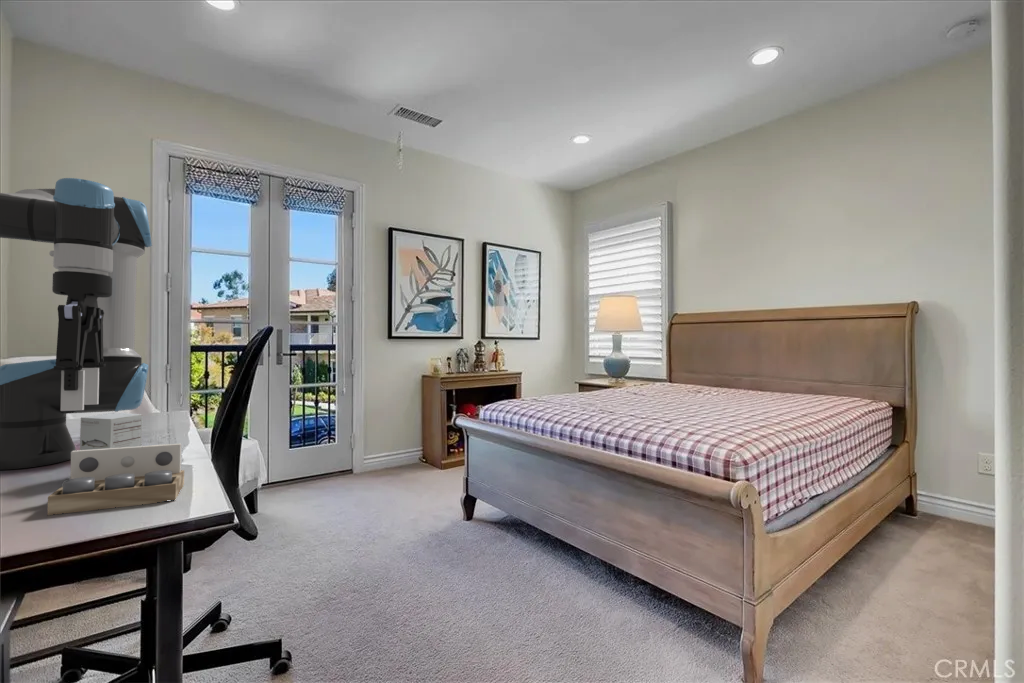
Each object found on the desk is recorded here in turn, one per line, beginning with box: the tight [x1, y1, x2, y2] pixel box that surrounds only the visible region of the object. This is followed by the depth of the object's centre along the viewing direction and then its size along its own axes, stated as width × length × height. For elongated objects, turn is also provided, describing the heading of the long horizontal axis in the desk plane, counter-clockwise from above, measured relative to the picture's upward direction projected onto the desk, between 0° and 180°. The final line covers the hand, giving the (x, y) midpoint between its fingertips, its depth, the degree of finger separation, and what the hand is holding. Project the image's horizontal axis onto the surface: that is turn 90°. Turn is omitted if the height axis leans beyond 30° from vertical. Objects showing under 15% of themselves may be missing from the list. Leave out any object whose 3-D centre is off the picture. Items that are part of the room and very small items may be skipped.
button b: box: [105, 473, 135, 490], centre depth 82 cm, size 4×4×2 cm
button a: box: [62, 477, 95, 494], centre depth 80 cm, size 4×4×2 cm
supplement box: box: [79, 412, 144, 450], centre depth 98 cm, size 7×7×13 cm
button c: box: [144, 470, 172, 486], centre depth 85 cm, size 4×4×2 cm
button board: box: [47, 469, 185, 516], centre depth 84 cm, size 10×17×3 cm, turn 118°
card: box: [69, 443, 182, 481], centre depth 87 cm, size 1×16×6 cm, turn 118°
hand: (80, 407), depth 80 cm, fingers open, 7 cm apart
